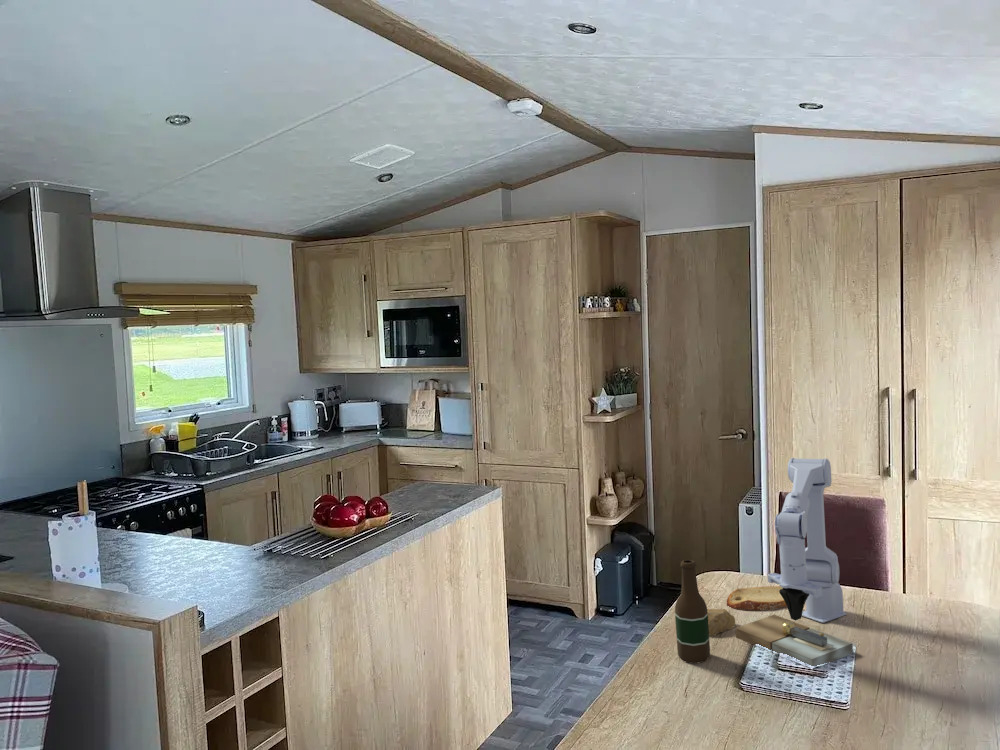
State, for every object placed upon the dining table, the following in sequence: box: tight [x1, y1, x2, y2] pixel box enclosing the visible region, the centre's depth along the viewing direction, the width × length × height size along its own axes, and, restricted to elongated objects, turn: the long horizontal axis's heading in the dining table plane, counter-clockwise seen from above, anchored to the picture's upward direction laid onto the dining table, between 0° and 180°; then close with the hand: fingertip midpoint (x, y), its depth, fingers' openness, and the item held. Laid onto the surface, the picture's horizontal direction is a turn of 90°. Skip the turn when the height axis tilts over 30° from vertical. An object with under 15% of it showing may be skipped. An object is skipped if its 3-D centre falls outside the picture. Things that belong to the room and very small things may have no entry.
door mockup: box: [735, 614, 854, 666], centre depth 200 cm, size 14×24×5 cm, turn 29°
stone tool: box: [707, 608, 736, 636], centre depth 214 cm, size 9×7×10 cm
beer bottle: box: [674, 559, 711, 664], centre depth 197 cm, size 8×8×24 cm
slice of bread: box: [726, 585, 787, 612], centre depth 231 cm, size 18×18×4 cm
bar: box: [782, 621, 827, 646], centre depth 197 cm, size 12×3×3 cm, turn 31°
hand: (796, 618), depth 192 cm, fingers closed
